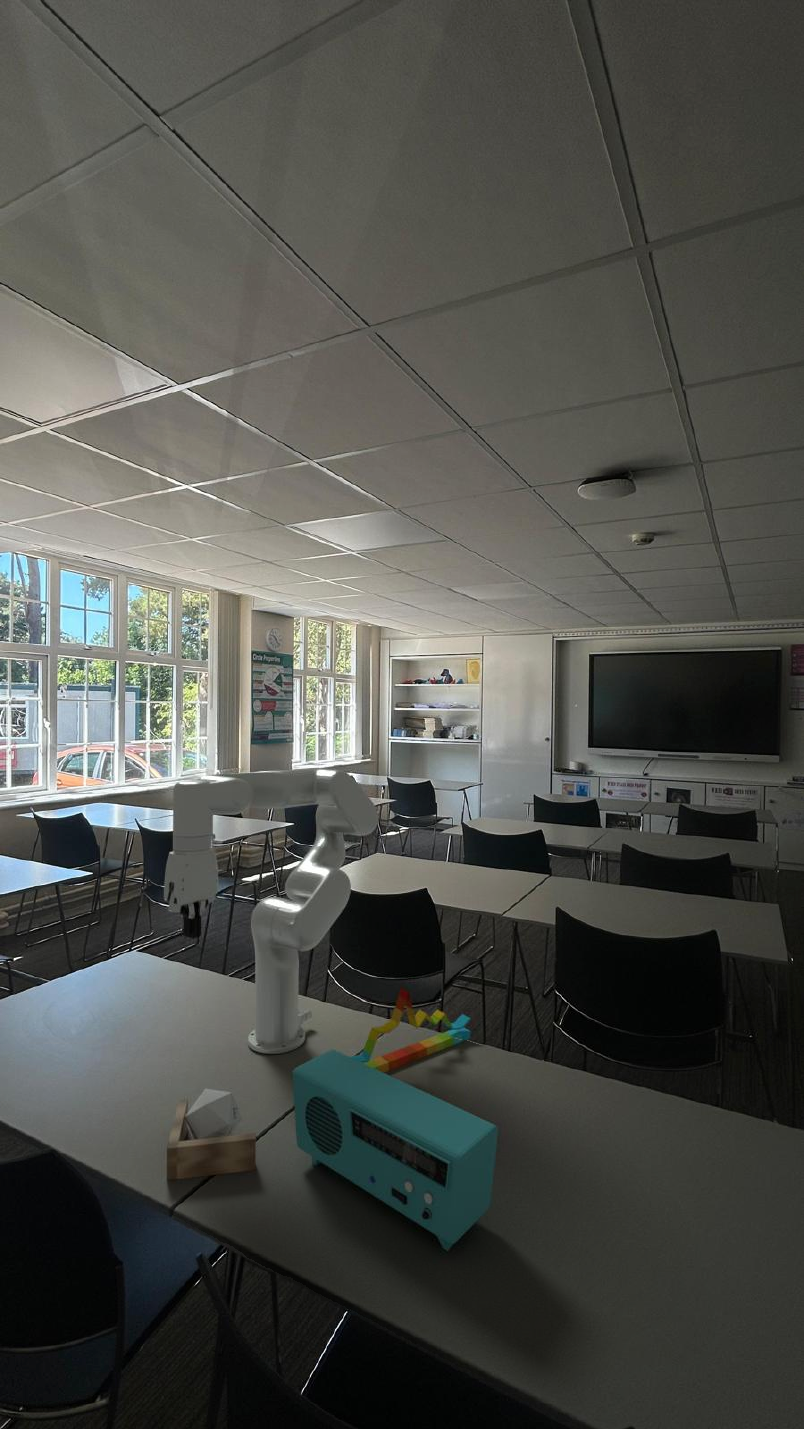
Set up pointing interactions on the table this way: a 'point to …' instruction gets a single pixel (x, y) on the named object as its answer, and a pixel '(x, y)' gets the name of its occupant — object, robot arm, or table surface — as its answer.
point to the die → (213, 1115)
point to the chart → (416, 1049)
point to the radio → (396, 1142)
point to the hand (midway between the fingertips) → (192, 936)
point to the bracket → (206, 1151)
